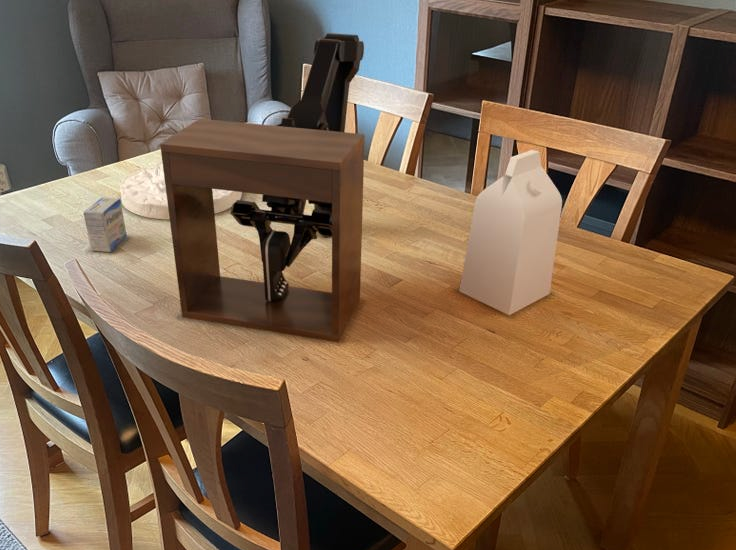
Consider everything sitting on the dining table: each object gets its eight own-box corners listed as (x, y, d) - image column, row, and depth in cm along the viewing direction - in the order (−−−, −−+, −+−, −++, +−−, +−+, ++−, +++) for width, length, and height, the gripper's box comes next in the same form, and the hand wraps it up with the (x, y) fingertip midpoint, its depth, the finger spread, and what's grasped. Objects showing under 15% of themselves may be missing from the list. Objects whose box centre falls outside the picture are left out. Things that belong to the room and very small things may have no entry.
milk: (500, 271, 144) (519, 138, 129) (549, 293, 136) (576, 155, 122) (459, 291, 137) (474, 153, 122) (509, 315, 130) (531, 171, 115)
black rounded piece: (285, 304, 130) (282, 245, 124) (264, 302, 131) (260, 243, 124) (293, 285, 136) (291, 227, 129) (273, 283, 136) (270, 226, 130)
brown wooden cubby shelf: (214, 280, 140) (199, 118, 123) (359, 302, 133) (364, 134, 116) (182, 316, 129) (159, 143, 112) (338, 342, 122) (340, 162, 105)
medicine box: (110, 253, 149) (103, 213, 144) (90, 251, 150) (82, 211, 145) (127, 237, 156) (121, 198, 151) (107, 235, 156) (100, 196, 152)
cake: (96, 208, 168) (89, 167, 163) (165, 169, 190) (160, 132, 184) (202, 228, 160) (198, 185, 154) (262, 185, 181) (260, 146, 176)
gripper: (230, 155, 125) (209, 241, 123) (335, 166, 121) (316, 255, 118) (250, 183, 136) (231, 263, 133) (347, 194, 132) (330, 277, 129)
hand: (275, 264), depth 128 cm, fingers closed on black rounded piece, 4 cm apart
